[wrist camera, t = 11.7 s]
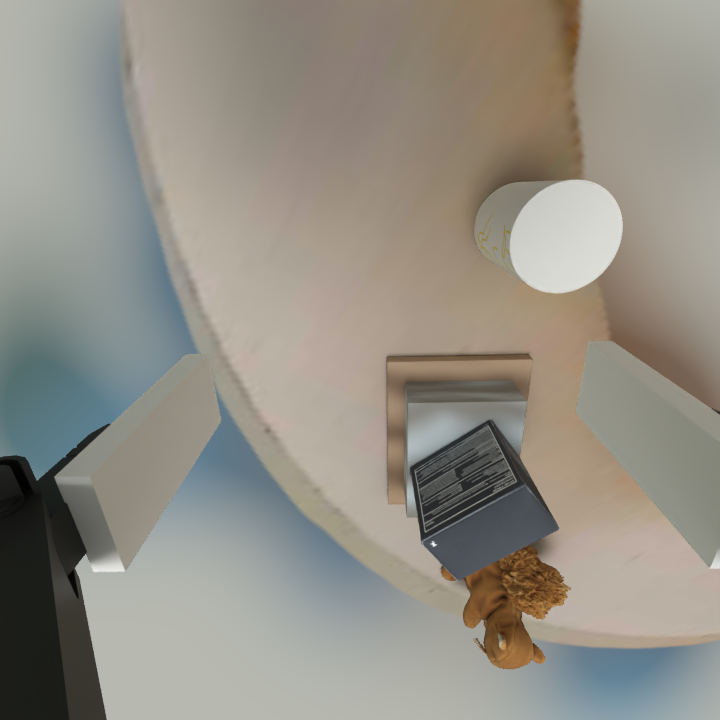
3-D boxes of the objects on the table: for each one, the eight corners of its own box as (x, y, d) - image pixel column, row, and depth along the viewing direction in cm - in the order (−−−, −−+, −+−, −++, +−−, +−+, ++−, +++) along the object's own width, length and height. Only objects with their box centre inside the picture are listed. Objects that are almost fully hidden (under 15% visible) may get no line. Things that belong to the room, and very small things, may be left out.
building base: (386, 357, 48) (388, 381, 42) (528, 354, 47) (550, 378, 41) (387, 496, 55) (389, 533, 49) (509, 495, 55) (526, 533, 49)
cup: (457, 222, 42) (488, 234, 31) (526, 162, 40) (585, 153, 29) (504, 282, 44) (548, 313, 33) (572, 229, 42) (643, 243, 31)
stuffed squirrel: (435, 570, 60) (450, 667, 48) (502, 509, 56) (538, 598, 44) (487, 600, 62) (515, 700, 50) (556, 543, 58) (605, 638, 46)
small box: (440, 505, 48) (457, 586, 38) (407, 467, 46) (416, 542, 36) (522, 458, 45) (563, 533, 35) (490, 416, 43) (524, 483, 33)
